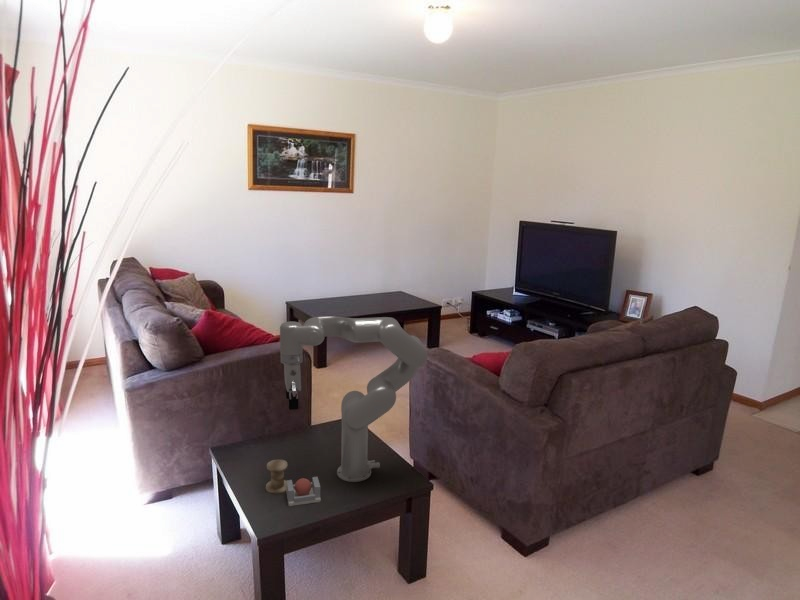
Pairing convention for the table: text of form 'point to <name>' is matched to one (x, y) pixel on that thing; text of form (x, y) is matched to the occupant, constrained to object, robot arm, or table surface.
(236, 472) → the table surface
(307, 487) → the bead
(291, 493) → the grey u-shaped holder
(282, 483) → the bobbin
